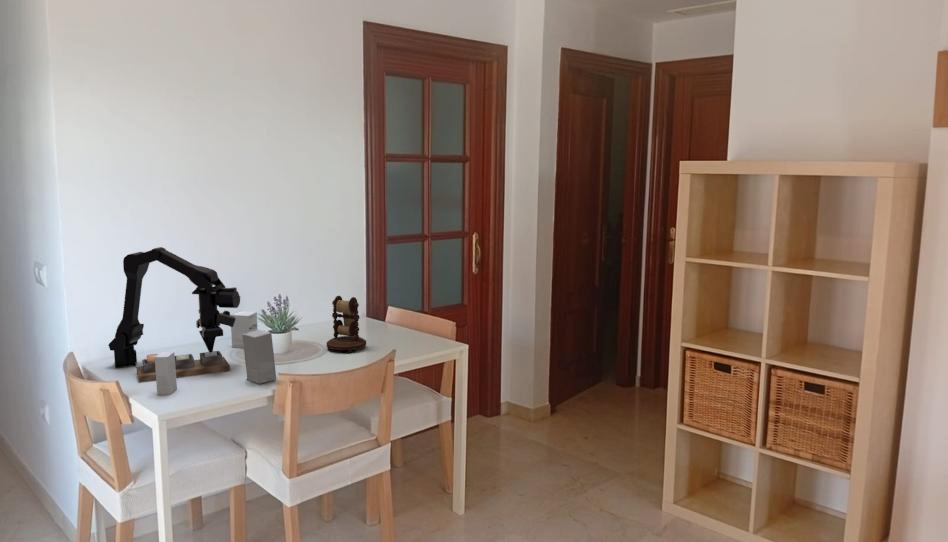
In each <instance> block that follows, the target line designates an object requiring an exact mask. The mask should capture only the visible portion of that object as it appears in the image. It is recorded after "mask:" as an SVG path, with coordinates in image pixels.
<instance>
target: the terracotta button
mask: <svg viewBox="0 0 948 542" xmlns="http://www.w3.org/2000/svg"><path fill="white" fill-rule="evenodd" d="M158 354H159V353H151V354H148V355H146V359H147V364H148V363H155V356H157V355H158Z"/></svg>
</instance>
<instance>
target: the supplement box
mask: <svg viewBox="0 0 948 542" xmlns="http://www.w3.org/2000/svg"><path fill="white" fill-rule="evenodd" d="M231 315H232V316H234V317H235V318H236V319H235V323H234V326H233V327H230V332H231V334H230V335H231V347H232V348H237V349H244V345H243V337H242V334H244V333H248V332H252V331H257V330H259V329H258V313H257V311H238V312H236V313H233V314H231Z"/></svg>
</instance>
